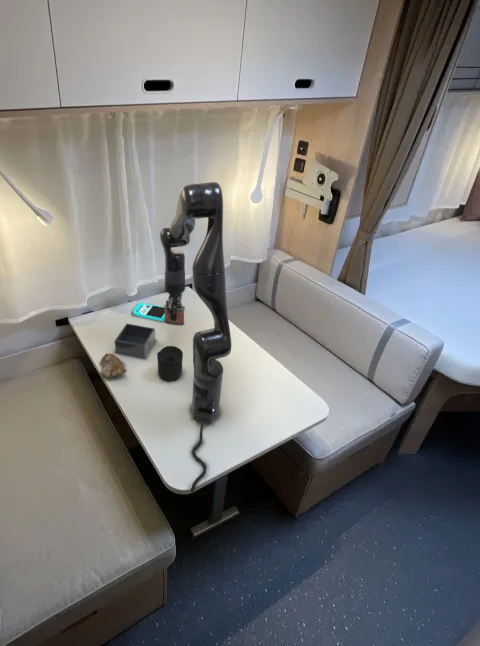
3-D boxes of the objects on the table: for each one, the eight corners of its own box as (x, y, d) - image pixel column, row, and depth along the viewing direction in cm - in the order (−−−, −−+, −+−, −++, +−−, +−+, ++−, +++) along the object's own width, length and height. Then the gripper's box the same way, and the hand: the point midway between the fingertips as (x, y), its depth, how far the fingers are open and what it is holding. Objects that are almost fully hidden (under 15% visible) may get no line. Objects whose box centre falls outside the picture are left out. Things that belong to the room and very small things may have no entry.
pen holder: (184, 380, 148) (185, 360, 143) (160, 384, 146) (159, 363, 141) (179, 364, 156) (179, 344, 150) (155, 367, 154) (155, 347, 148)
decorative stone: (106, 375, 143) (92, 355, 155) (108, 384, 145) (94, 365, 157) (130, 366, 147) (115, 348, 159) (132, 375, 149) (116, 357, 161)
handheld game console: (139, 303, 193) (139, 301, 192) (170, 310, 188) (170, 307, 187) (130, 314, 185) (130, 312, 184) (162, 321, 180) (162, 319, 180)
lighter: (185, 321, 158) (185, 300, 153) (183, 326, 155) (183, 304, 150) (165, 319, 160) (165, 297, 154) (163, 323, 157) (163, 302, 152)
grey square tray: (144, 358, 159) (144, 346, 155) (115, 352, 162) (114, 340, 158) (155, 340, 169) (154, 328, 165) (127, 335, 172) (126, 323, 168)
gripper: (170, 269, 154) (170, 307, 163) (159, 286, 142) (160, 325, 151) (189, 271, 152) (188, 309, 161) (179, 289, 140) (178, 329, 150)
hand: (174, 317), depth 156 cm, fingers closed on lighter, 3 cm apart
